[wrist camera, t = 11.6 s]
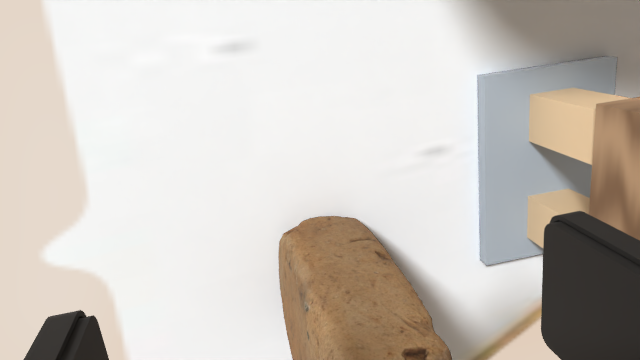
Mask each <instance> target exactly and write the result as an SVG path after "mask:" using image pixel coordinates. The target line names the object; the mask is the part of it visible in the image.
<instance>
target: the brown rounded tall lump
mask: <svg viewBox="0 0 640 360" xmlns="http://www.w3.org/2000/svg"><path fill="white" fill-rule="evenodd" d="M279 278H280V290H281V297H282V303H283V312H284V319H285V325H286V330H287V335H288V340H289V344H290V349H291V354H292V358H293V360H452V357H451V354H450V351H449V349H448V347H447V345H446V344H445V343H444V342H443V341H442V339H441V338H440V337H439V336H438V335H437V334H436V333H435V332H434V330H433V325H432V318H431V317H430V315H429V313H428V312H427V310H426V309H425V307H424V305H423V303H422V301H421V300H420V299H419V298H418V295H417V293H416V292H415V290H414V289H413V287H412V286H411V284H410V283H409V281H408V280H407V279H406V277H405V276H404V274H403V273H402V272H401V270H400V269H399V268H398V267H397V265H396V264H395V263H394V262H393V260H392V258H391V257H390V255H389V253H388V252H387V251H386V249H385V248H384V247H383V246H382V244H381V243H380V242H379V241H378V240H377V239H376V237H375V236H374V235H373V233H372V232H371V231H370V230H369V229H368V228H367V227H366V226H364V225H363V224H362V223H361V222H360V221H359V220H357V219H355V218H348V217H339V216H326V217H315V218H310V219H308V220H304V221H302V222H301V223H300V224H299V226H297V227H295V228H293V229H291V230H289V231H288V232H286V233H284V234H283V236H282V238H281V240H280V243H279Z"/></svg>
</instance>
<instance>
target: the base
mask: <svg viewBox="0 0 640 360" xmlns="http://www.w3.org/2000/svg"><path fill="white" fill-rule="evenodd" d="M616 69H617V57H611V56H605V57H598V58H591V59H584V60H577V61H570V62H564V63H557V64H550V65H543V66H536V67H529V68H523V69H516V70H509V71H502V72H495V73H489V74H482V75H477V82H478V154H479V226H480V260H481V261H482V262H483V263H484V264H485V265H486V266H487V265H492V264H497V263H501V262H506V261H511V260H516V259H520V258H525V257H530V256H535V255H539V254H543V246H544V228H545V226H546V225H547V224H549V223H550V220H551V218H552V217H554V216H556V215H561V214H566V213H571V212H576V211H582V212H585V213H587V214H589V203H590V188H591V174H592V159H593V144H594V129H595V114H596V104H598V103H605V102H611V101H618V100H624V99H631V98H628V97H622V96H617V95H615V83H616Z"/></svg>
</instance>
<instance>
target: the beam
mask: <svg viewBox="0 0 640 360" xmlns="http://www.w3.org/2000/svg"><path fill="white" fill-rule="evenodd" d="M589 215H591V216H593V217H595V218H597V219H599V220H601V221H603V222H605V223H607V224H609V225H610V226H612V227H614V228H616V229H618V230H620V231H622V232H624V233H626V234H628V235H630V236H632V237H634V238H636V239H638V240H640V97H637V98H631V99H624V100H618V101H611V102H605V103H598V104H596V114H595V129H594V144H593V159H592V174H591V188H590V203H589Z"/></svg>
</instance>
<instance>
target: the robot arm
mask: <svg viewBox="0 0 640 360" xmlns="http://www.w3.org/2000/svg"><path fill="white" fill-rule="evenodd" d="M541 332H542V336H543V339H544V341H545V343H546V344H547V346H548V347H549V348H550V349H551V350H552V351H553V352H554V353H555V354H556V355H557V356H558V357H559V358H560V359H561V360H640V240H638V239H636V238H634V237H632V236H630V235H628V234H626V233H624V232H622V231H620V230H618V229H616V228H614V227H612V226H610V225H609V224H607V223H605V222H603V221H601V220H599V219H597V218H595V217H593V216H591V215H589V214H587V213H585V212H582V211H576V212H571V213H566V214H561V215H556V216H554V217H552V218H551V220H550V223H549V224H547V225H546V226H545V228H544V246H543V282H542V317H541ZM24 360H109V358H108V355H107V351H106V348H105V345H104V341H103V338H102V334H101V331H100V328H99V324H98V322H97V319H96V318H95V317H94V316H89V317H86V315H85V313H84V312H83V311H81V310H80V311H75V312H70V313H65V314H60V315H55V316H50V317H48V318H47V319H46V321H45V323H44V324H43V326H42V328H41V330H40V332H39V333H38V335H37V337H36V339H35V340H34V342H33V344H32V346H31V348H30V350H29V351H28V353H27V355H26V357H25V358H24Z"/></svg>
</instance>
